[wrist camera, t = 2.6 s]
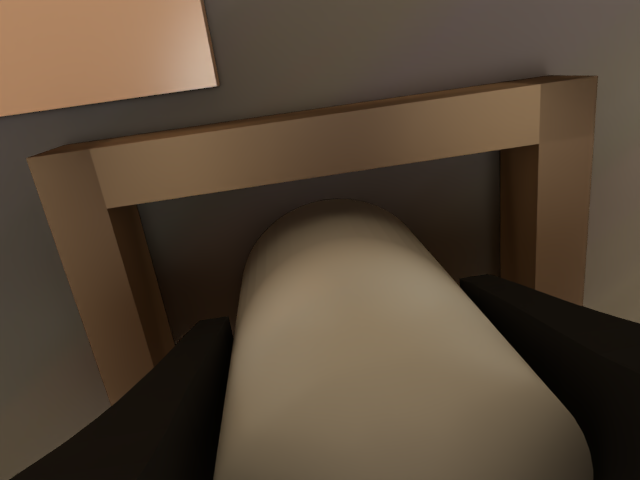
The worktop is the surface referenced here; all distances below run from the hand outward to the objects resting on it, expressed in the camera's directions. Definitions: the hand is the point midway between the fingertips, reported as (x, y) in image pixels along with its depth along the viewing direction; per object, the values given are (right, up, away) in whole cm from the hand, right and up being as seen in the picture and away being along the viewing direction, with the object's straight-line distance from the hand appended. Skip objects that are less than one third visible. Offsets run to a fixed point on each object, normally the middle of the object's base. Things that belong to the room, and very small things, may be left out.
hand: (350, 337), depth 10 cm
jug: (0, 0, +3) cm, 3 cm away
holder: (0, 0, +2) cm, 2 cm away
